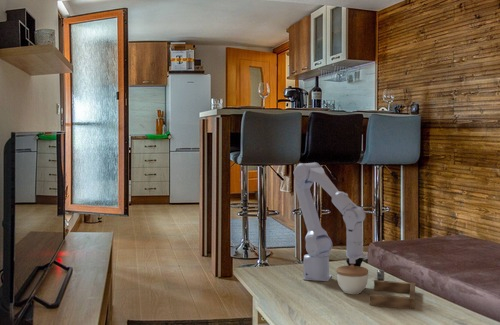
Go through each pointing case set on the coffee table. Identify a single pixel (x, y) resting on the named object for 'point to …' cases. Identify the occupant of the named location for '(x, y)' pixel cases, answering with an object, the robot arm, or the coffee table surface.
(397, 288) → the walnut shelf
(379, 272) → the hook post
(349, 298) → the coffee table surface
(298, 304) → the coffee table surface
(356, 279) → the lidded jar
